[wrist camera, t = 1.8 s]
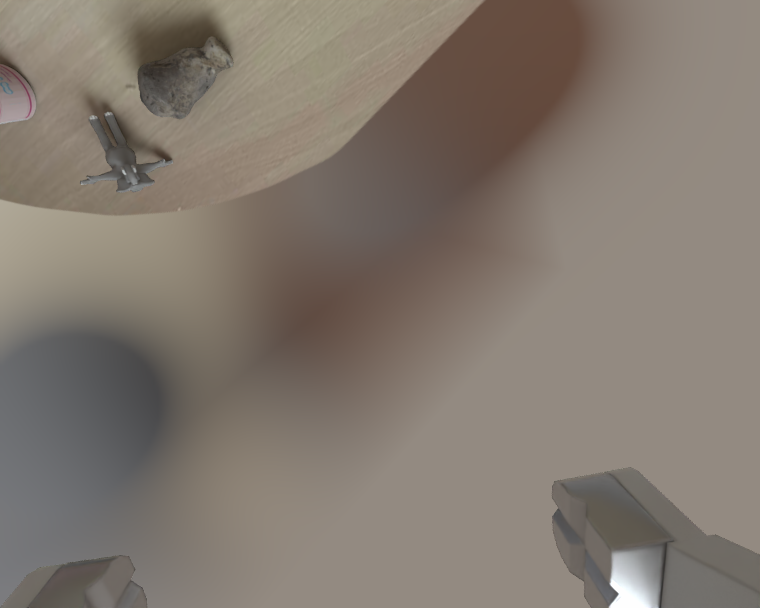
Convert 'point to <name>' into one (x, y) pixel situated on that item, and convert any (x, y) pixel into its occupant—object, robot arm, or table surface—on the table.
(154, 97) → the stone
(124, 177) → the elephant figurine
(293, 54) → the table surface
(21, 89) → the beverage can
